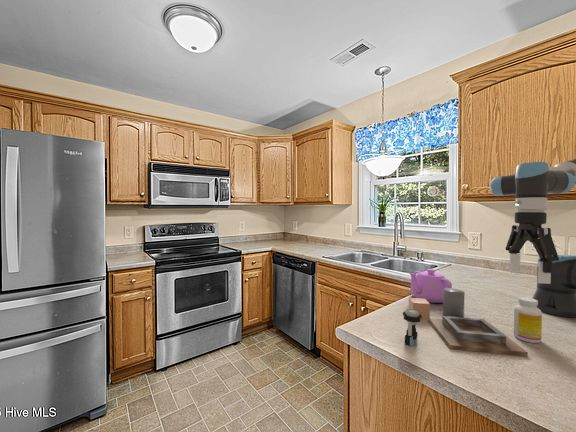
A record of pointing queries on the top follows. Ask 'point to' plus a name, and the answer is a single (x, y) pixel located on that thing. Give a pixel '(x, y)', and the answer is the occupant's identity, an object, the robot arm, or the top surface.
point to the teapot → (429, 285)
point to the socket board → (474, 336)
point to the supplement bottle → (527, 320)
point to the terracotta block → (420, 306)
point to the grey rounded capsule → (453, 302)
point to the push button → (411, 326)
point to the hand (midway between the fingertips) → (528, 277)
